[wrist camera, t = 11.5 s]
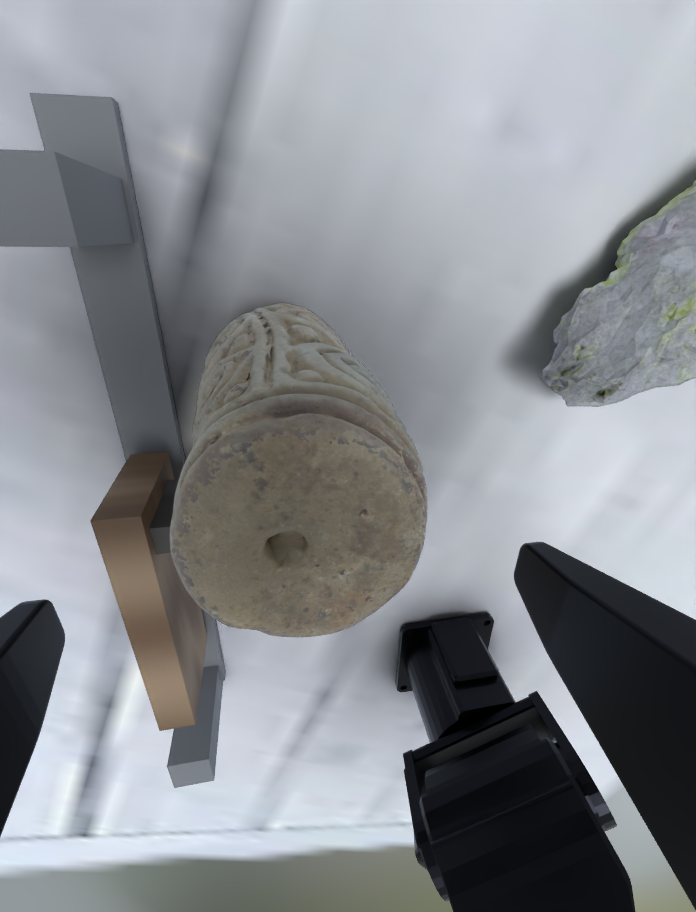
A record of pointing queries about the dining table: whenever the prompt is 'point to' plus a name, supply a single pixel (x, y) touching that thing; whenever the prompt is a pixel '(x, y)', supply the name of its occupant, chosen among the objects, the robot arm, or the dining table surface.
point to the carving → (295, 482)
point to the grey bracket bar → (110, 315)
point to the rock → (634, 316)
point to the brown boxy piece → (153, 587)
